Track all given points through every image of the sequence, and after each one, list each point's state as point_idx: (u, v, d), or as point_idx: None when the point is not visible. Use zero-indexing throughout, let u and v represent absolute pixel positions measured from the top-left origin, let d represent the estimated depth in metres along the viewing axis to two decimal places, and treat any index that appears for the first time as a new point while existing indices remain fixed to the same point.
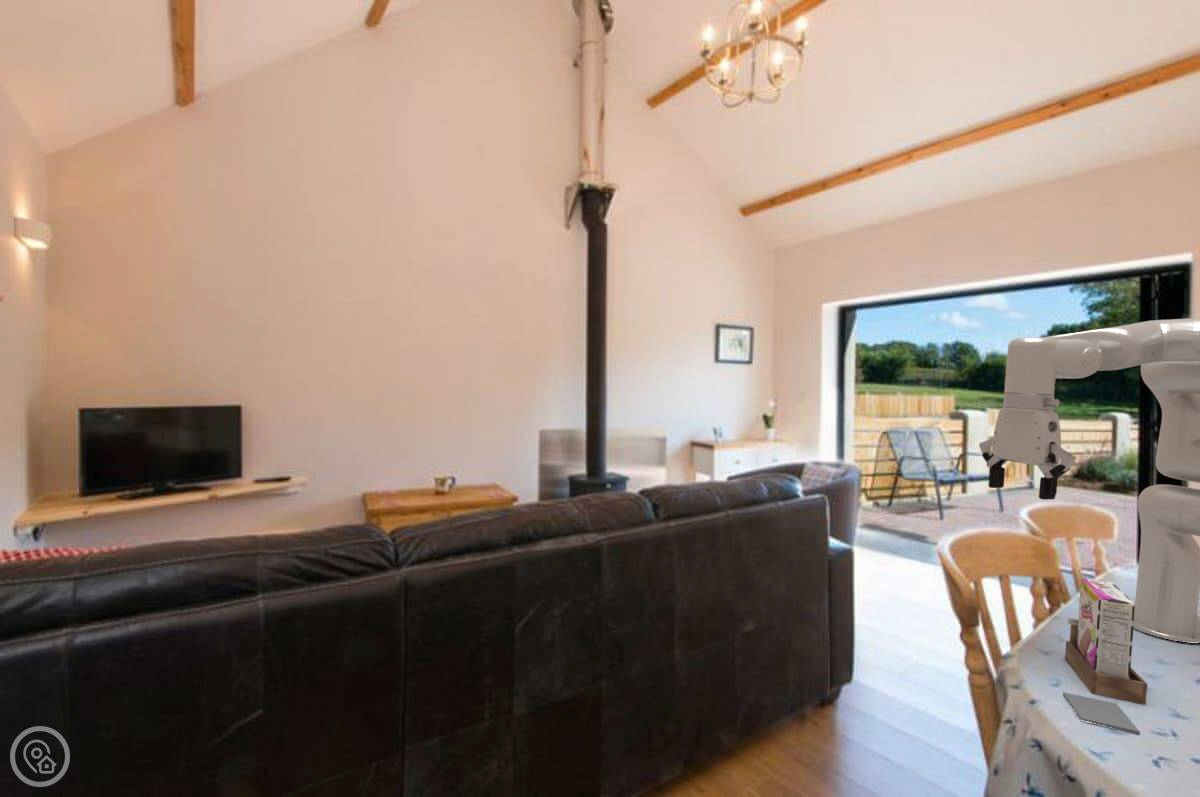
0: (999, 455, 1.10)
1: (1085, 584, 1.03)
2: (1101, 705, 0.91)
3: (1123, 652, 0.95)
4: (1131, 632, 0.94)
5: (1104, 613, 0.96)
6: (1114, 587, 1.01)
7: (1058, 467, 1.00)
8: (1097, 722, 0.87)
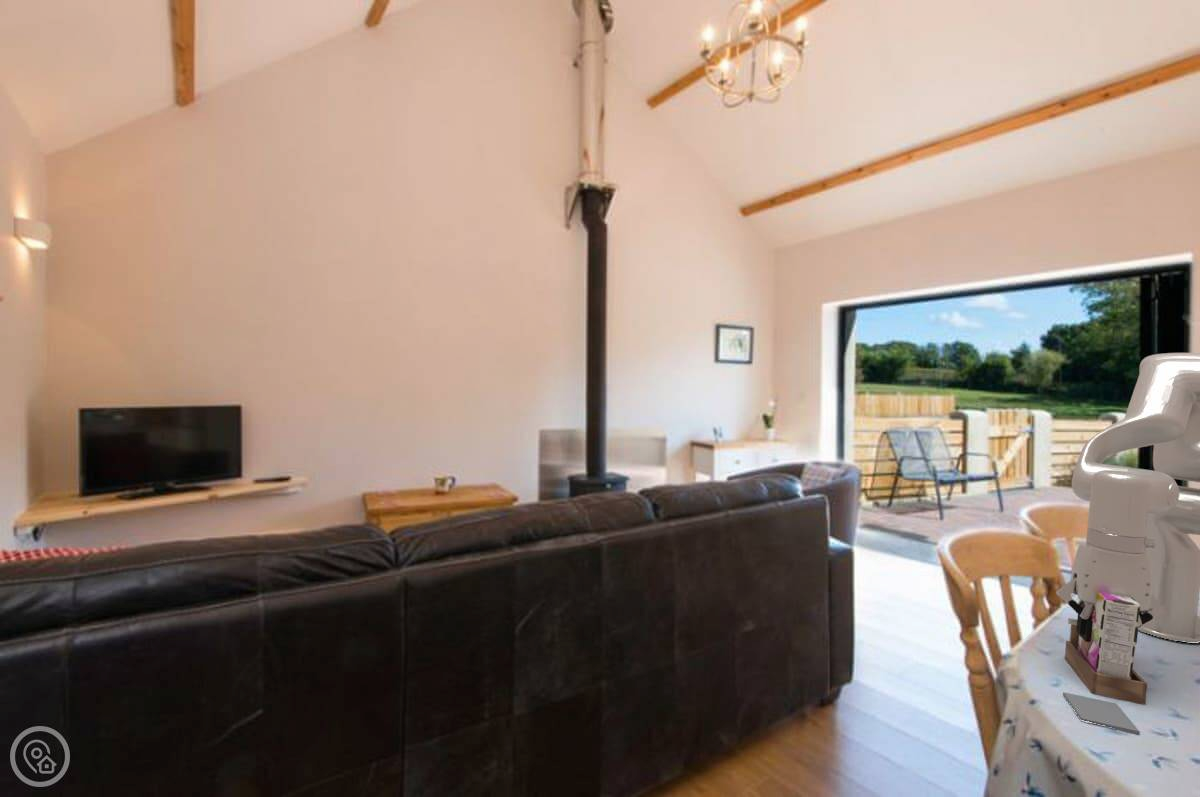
0: (1091, 600, 0.99)
1: None
2: (1101, 705, 0.91)
3: (1126, 653, 0.94)
4: (1135, 633, 0.94)
5: (1108, 613, 0.95)
6: None
7: (1148, 616, 0.97)
8: (1097, 722, 0.87)
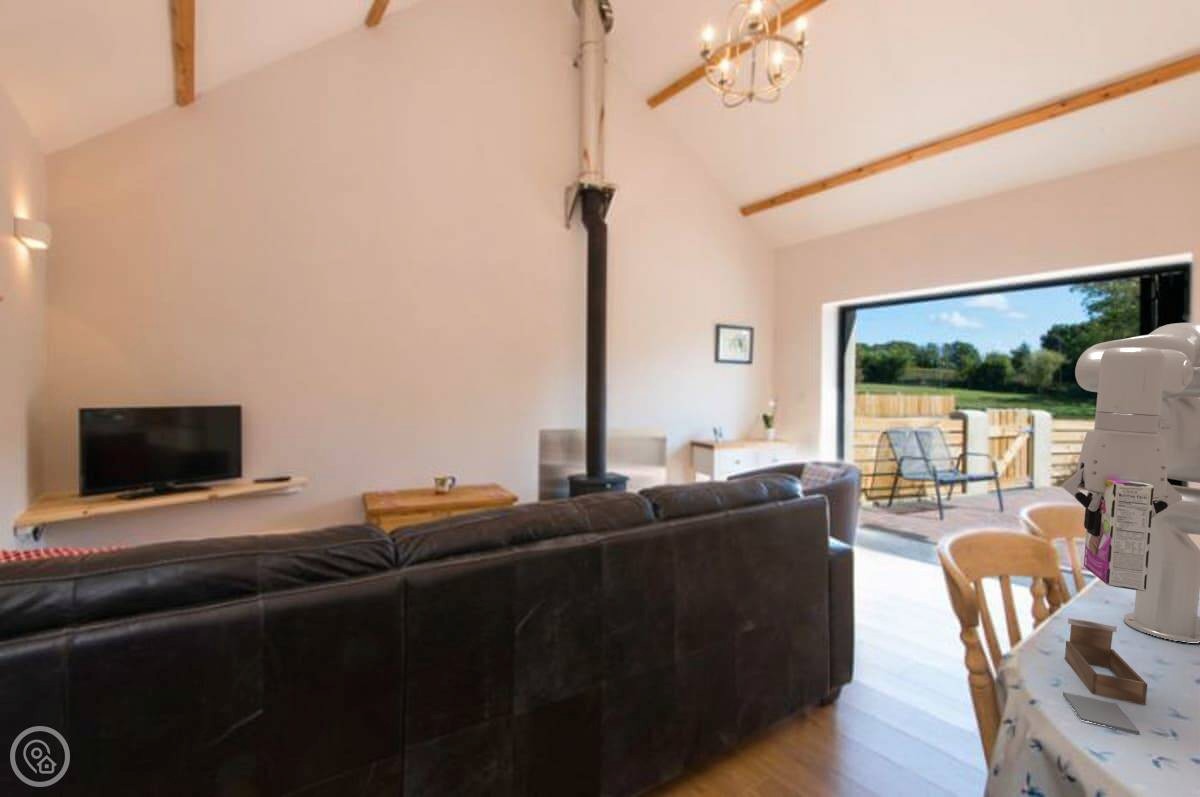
0: (1100, 489, 0.90)
1: None
2: (1101, 705, 0.91)
3: (1140, 541, 0.85)
4: (1149, 517, 0.85)
5: (1119, 498, 0.86)
6: None
7: (1162, 504, 0.88)
8: (1097, 722, 0.87)
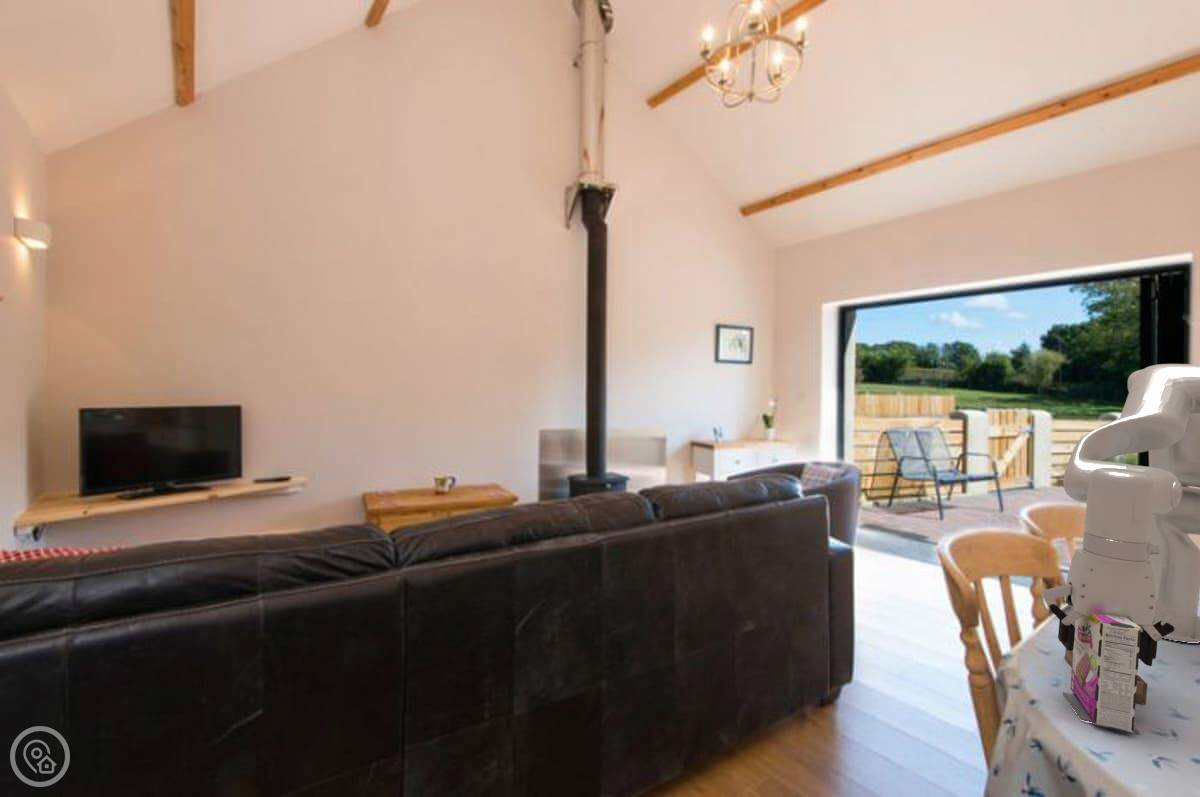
0: (1088, 613, 0.88)
1: None
2: None
3: (1128, 682, 0.84)
4: (1136, 660, 0.83)
5: (1106, 638, 0.85)
6: None
7: (1169, 628, 0.85)
8: None
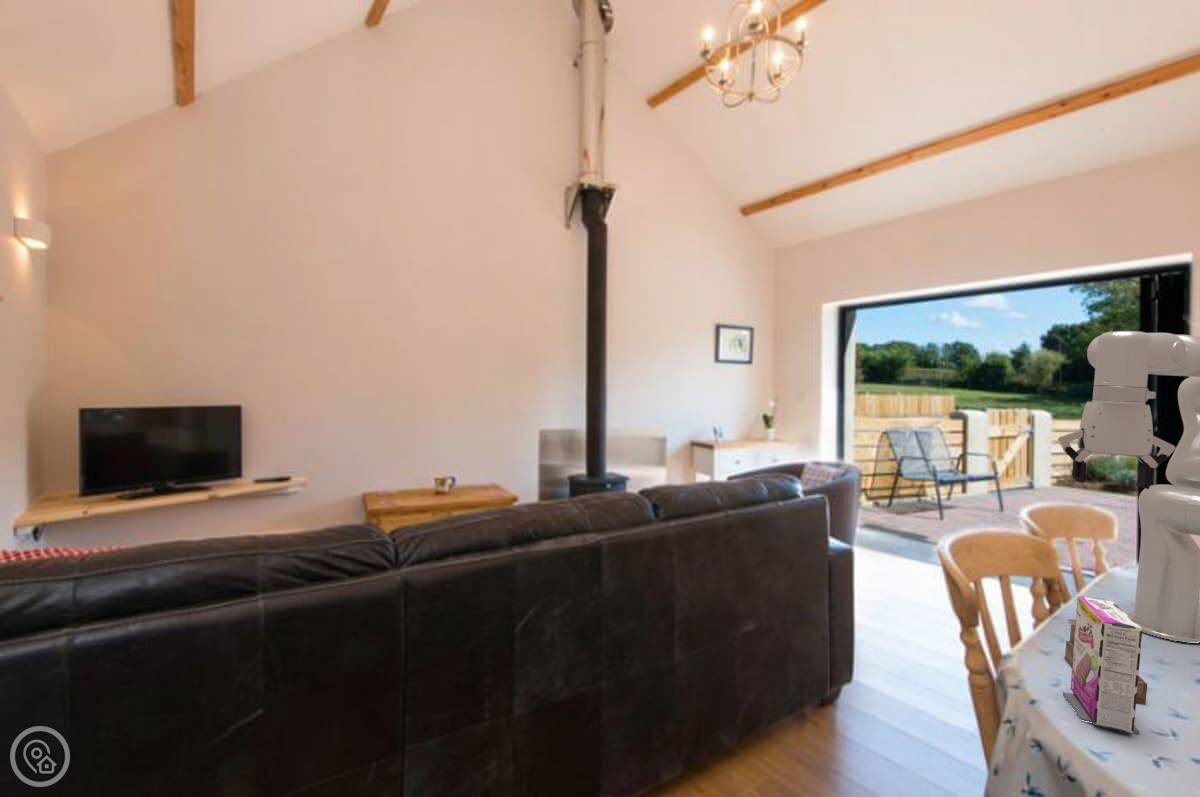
0: (1097, 449, 1.08)
1: (1083, 604, 0.92)
2: None
3: (1128, 683, 0.84)
4: (1138, 660, 0.83)
5: (1108, 638, 0.85)
6: (1115, 607, 0.90)
7: (1163, 456, 1.05)
8: None
